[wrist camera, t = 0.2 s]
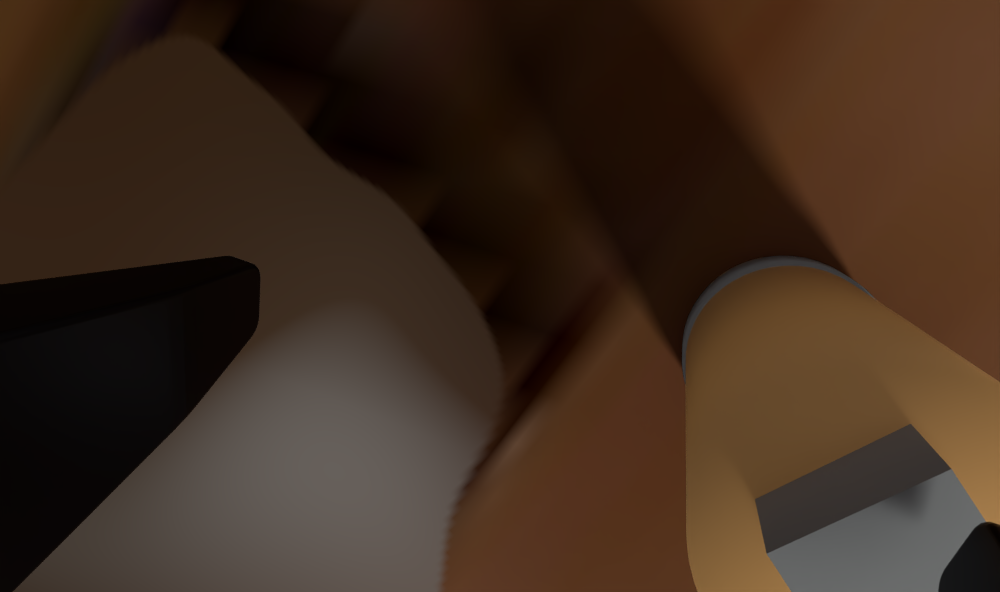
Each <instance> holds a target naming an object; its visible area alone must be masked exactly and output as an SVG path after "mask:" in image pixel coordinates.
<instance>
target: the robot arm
mask: <svg viewBox="0 0 1000 592" xmlns="http://www.w3.org/2000/svg"><path fill="white" fill-rule="evenodd" d="M259 304H260V272H259V269H258V268H257V267H256V266H255V265H254V264H252V263H249V262H247V261H244V260H241V259H238V258H235V257H232V256H221V257H214V258H205V259H198V260H190V261H182V262H174V263H166V264H159V265H151V266H142V267H134V268H127V269H118V270H111V271H103V272H95V273H87V274H80V275H72V276H63V277H56V278H47V279H39V280H32V281H23V282H15V283H8V284H0V592H13V591H14V590H15V589H16V588H17V587H18V586H19V585H20V584H21V583H22V582H23V581H24V580H25V579H26V578H27V577H28V576H29V575H30V574H31V573H32V572H33V571H34V570H35V569H36V568H37V567H38V566H39V565H40V564H41V563H42V562H43V561H44V560H45V559H46V558H47V557H48V556H49V555H50V554H51V553H52V552H53V551H54V550H55V549H56V548H57V547H58V546H59V545H60V544H61V543H62V542H63V541H64V540H65V539H66V538H67V537H68V536H69V535H70V534H71V533H72V532H73V531H74V530H75V529H76V528H77V527H78V526H79V525H80V524H81V523H82V522H83V521H84V520H85V519H86V518H87V517H88V516H89V515H90V514H91V513H92V512H93V511H94V510H95V509H96V508H97V507H98V506H99V505H100V504H101V503H102V502H103V501H104V500H105V499H106V498H107V497H108V496H109V495H110V494H111V493H112V492H113V491H114V490H115V489H116V488H117V487H118V486H119V485H120V484H121V483H122V482H123V481H124V480H125V479H126V478H127V477H128V476H129V475H130V474H131V473H132V472H133V471H134V470H135V469H136V468H137V467H138V466H139V465H140V464H141V463H142V462H143V461H144V460H145V459H146V458H147V457H148V456H149V455H150V454H151V453H152V452H153V451H154V450H155V449H156V448H157V447H158V446H159V445H160V444H161V443H162V442H163V441H164V440H165V439H166V438H167V437H168V436H169V435H170V434H171V433H172V432H173V431H174V430H175V429H176V428H177V427H178V426H179V424H180V423H181V422H182V421H183V420H184V419H185V418H186V417H187V416H188V415H189V414H190V412H191V411H192V410H193V409H194V408H195V407H196V405H197V404H198V403H199V402H200V401H201V399H202V398H203V397H204V395H205V394H206V393H207V392H208V391H209V389H210V388H211V387H212V386H213V384H214V383H215V382H216V381H217V379H218V378H219V377H220V376H221V374H222V373H223V372H224V371H225V370H226V368H227V367H228V366H229V365H230V363H231V362H232V361H233V360H234V358H235V357H236V356H237V355H238V353H239V352H240V351H241V350H242V348H243V347H244V346H245V344H246V343H247V342H248V341H249V340H250V338H251V337H252V335H253V334H254V332H255V330H256V328H257V325H258V321H259ZM938 592H1000V525H999V524H996V523H993V522H983V523H980V524H979V525H977V526H976V527H975V528H974V529H973V530H972V532H971V533H970V534H969V536H968V537H967V539H966V540H965V541H964V543H963V544H962V545H961V547H960V548H959V550H958V551H957V552H956V554H955V555H954V556H953V558H952V559H951V561H950V562H949V563H948V565H947V566H946V568H945V569H944V571H943V573H942V575H941V578H940V582H939V588H938Z"/></svg>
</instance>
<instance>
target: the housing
mask: <svg viewBox="0 0 1000 592" xmlns="http://www.w3.org/2000/svg"><path fill="white" fill-rule="evenodd" d="M682 369H683V377H684V381H685V385H686V534H687V548H688V557H689V564H690V568H691V572H692V576H693V579H694V583H695V586H696V588H697V591H698V592H938V588H939V582H940V578H941V575H942V573H943V571H944V569H945V568H946V566H947V565H948V563H949V562H950V561H951V559H952V558H953V556H954V555H955V554H956V552H957V551H958V550H959V548H960V547H961V545H962V544H963V543H964V541H965V540H966V539H967V537H968V536H969V534H970V533H971V532H972V530H973V529H974V528H975V527H976V526H977V525H979V524H980V523H983V522H993V523H996V524H999V525H1000V382H999V381H997V380H996V379H994V378H993V377H991V376H990V375H988V374H987V373H985V372H984V371H982V370H981V369H979V368H978V367H976V366H975V365H973V364H972V363H970V362H969V361H967V360H966V359H964V358H963V357H961V356H960V355H958V354H957V353H955V352H954V351H952V350H951V349H949V348H948V347H946V346H945V345H943V344H942V343H940V342H939V341H937V340H936V339H934V338H933V337H931V336H930V335H928V334H927V333H925V332H924V331H922V330H921V329H919V328H918V327H916V326H915V325H913V324H912V323H910V322H909V321H907V320H906V319H904V318H903V317H901V316H900V315H898V314H897V313H895V312H894V311H892V310H891V309H889V308H888V307H886V306H885V305H883V304H882V303H880V302H879V301H877V300H876V299H875V298H874V297H873V296H872V295H871V294H870V293H869V292H868V291H867V290H866V289H865V288H863V287H862V286H861V285H859V284H858V283H857V282H855V281H854V280H852V279H851V278H849V277H848V276H846V275H845V274H843V273H841V272H840V271H838V270H836V269H834V268H833V267H831V266H829V265H826V264H824V263H821V262H819V261H815V260H812V259H808V258H803V257H796V256H770V257H762V258H758V259H753V260H750V261H747V262H744V263H741V264H739V265H737V266H735V267H733V268H731V269H729V270H727V271H726V272H724V273H723V274H722V275H720V276H719V277H717V278H716V279H715V280H714V281H713V282H712V283H711V284H710V285H709V286H708V287H707V288H706V289H705V290H704V291H703V293H702V294H701V295H700V296H699V298H698V299H697V301H696V302H695V304H694V305H693V307H692V310H691V312H690V314H689V316H688V319H687V322H686V325H685V328H684V334H683V341H682Z"/></svg>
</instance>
